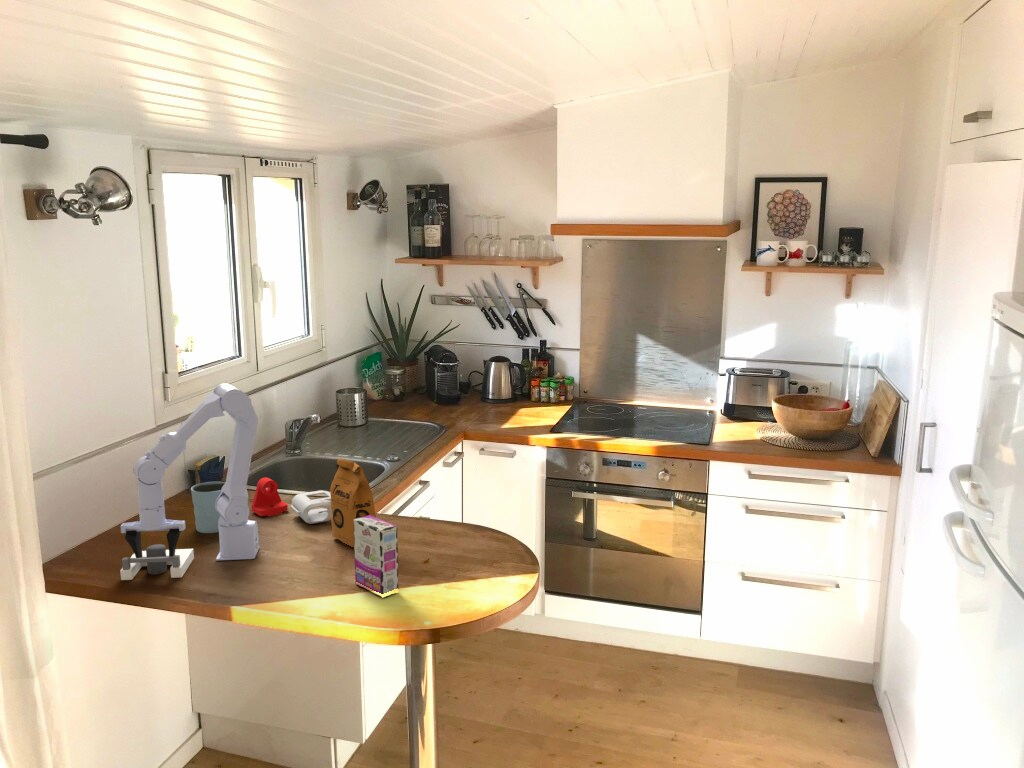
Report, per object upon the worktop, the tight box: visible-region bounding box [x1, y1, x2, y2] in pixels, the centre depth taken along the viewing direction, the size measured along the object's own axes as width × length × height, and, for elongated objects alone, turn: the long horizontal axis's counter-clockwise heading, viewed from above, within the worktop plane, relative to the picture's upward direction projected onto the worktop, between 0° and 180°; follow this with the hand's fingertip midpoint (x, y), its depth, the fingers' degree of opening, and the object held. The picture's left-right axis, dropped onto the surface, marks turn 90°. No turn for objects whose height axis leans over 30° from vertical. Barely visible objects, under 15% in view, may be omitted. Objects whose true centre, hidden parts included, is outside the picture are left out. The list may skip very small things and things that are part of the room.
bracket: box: [251, 477, 289, 518], centre depth 249 cm, size 9×6×10 cm
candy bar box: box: [353, 515, 399, 594], centre depth 197 cm, size 11×5×16 cm, turn 45°
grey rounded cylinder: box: [145, 543, 168, 575], centre depth 208 cm, size 4×4×6 cm
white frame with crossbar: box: [119, 548, 195, 581], centre depth 209 cm, size 14×12×5 cm
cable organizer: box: [290, 490, 331, 524], centre depth 244 cm, size 7×12×12 cm
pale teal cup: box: [190, 481, 226, 534], centre depth 237 cm, size 10×10×12 cm
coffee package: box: [329, 458, 377, 548], centre depth 226 cm, size 10×12×22 cm
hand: (156, 558), depth 208 cm, fingers open, 7 cm apart
